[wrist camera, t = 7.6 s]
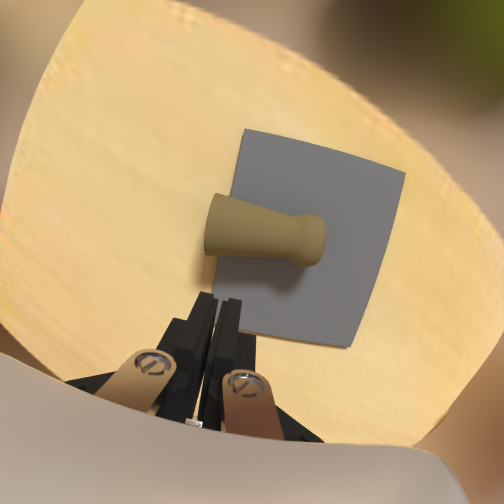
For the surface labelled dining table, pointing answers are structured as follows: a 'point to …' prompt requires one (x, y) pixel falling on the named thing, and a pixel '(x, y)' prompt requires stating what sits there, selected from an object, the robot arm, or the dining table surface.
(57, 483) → the robot arm
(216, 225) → the cork
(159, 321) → the dining table surface
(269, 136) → the mat
